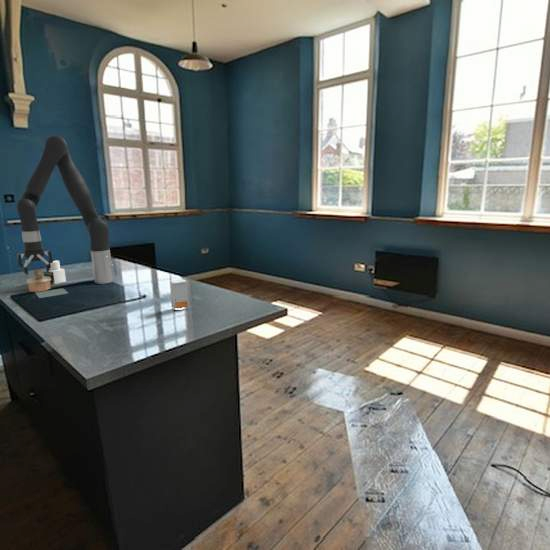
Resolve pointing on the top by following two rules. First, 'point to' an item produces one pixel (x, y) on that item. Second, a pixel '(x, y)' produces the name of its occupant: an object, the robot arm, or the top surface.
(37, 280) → the lid
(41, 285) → the bowl
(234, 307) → the top surface
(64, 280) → the medicine bottle
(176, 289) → the skincare box
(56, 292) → the mat
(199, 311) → the top surface
